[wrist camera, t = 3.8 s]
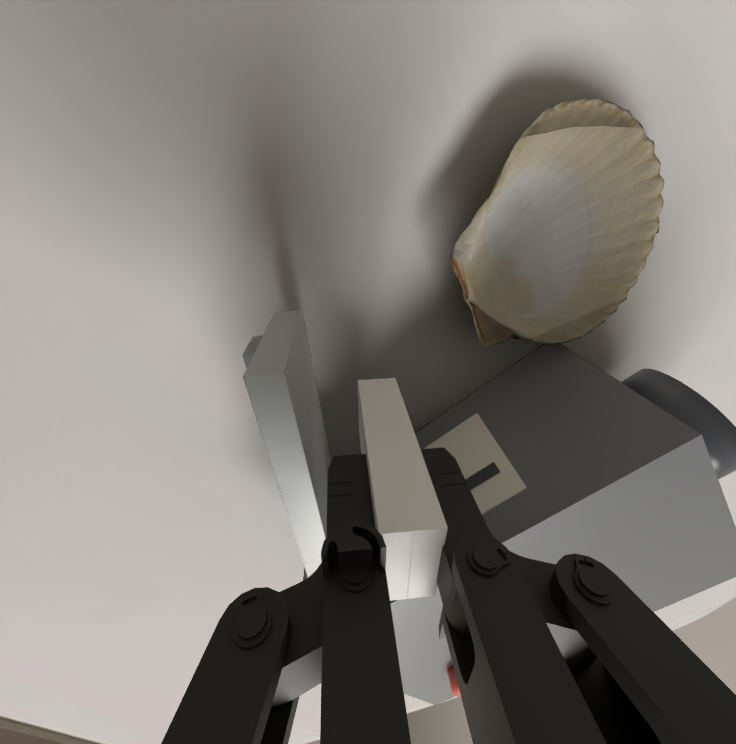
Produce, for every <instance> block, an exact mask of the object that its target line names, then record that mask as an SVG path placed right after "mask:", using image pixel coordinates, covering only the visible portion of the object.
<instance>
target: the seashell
mask: <svg viewBox="0 0 736 744" xmlns="http://www.w3.org/2000/svg"><path fill="white" fill-rule="evenodd" d="M660 164H661V163H660V161H659V160H658V158H657V157H656V155H655V154H654V141H652V140H650V139H649V138H648V137H646V135H645V131H644V129H643V127H642V125H641V124H640V123H639V122H638V120H636V119H635V118H633V116H632V115H631V114H630V112H629V110H625V109H622V108H620V107H619V106H617V105H615V104H613V103H610V102H608V101H603V100H600V99H598V98H595V99H578V100H574V101H566V102H561V103H559V104H558V105H556V106H555V107H554V108H549V109H548V110H546V111H544V112H542V113H541V114H540V115H539V117H538V118H537V119H536V120H535V121H534V122H533V123H532V125H531V126H530V127H528V128H527V129H526V130H525V131H524V132H523V134H522V135H521V136H520V138H519V139H518V141H517V142H516V144H515V145H514V147H513V149H512V151H511V153H510V155H509V156H508V158H507V160H506V162H505V164H504V166H503V168H502V170H501V172H500V174H499V176H498V178H497V180H496V182H495V185H494V187H493V189H492V192H491V194H490V196H489V197H488V199H487V200H486V201H485V202H484V203H483V205H482V206H481V207H480V209H479V210H478V211H477V213H476V214H475V215H474V217H473V219H472V221H471V222H470V224H469V226H468V227H467V228H466V229H465V230H464V231H463V232H462V234H461V235H460V237H459V238H458V240H457V241H456V242H455V246H454V249H453V251H452V254H451V265H452V267H453V270H454V272H455V274H456V276H457V277H458V279H459V281H460V283H461V286H462V294H463V297H464V300H465V302H466V303H467V304H468V305H469V308H470V309H471V311H472V315H473V318H474V324H475V329H476V332H477V335H478V339H479V342H480V344H481V345H482V346H484V347H489V346H492V345H493V344H499V343H501V342H503V341H505V340H506V339H508V338H511V337H513V338H514V339H528V340H531V341H537V342H542V343H543V344H560V343H566V342H569V341H572V340H574V339H577V338H581V337H582V336H583V335H585V334H587V333H589V332H590V331H592V330H593V329H594V328H595V327H596V326H598V325H600V324H601V323H603V322H605V320H606V319H607V317H608V316H609V315H611V314H612V313H614V312H615V311H616V310H617V307H618V305H619V304H621V303H622V302H623V301H624V300H626V298H627V294H628V291H629V289H630V288H632V287H633V286H634V285H635V283H636V282H637V277H638V274H639V272H640V271H641V270H642V269H643V268H644V266H645V263H646V257H647V256H648V254H649V253H650V252H651V250H652V248H653V241H654V240H653V239H654V236H655V234H656V233H658V231H659V217H658V215H659V213H660V211H661V209H662V206H663V199H662V196H661V194H660V193H661V191H662V189H663V186H664V180H663V178H662V177H661V176H660Z"/></svg>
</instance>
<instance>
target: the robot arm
mask: <svg viewBox="0 0 736 744" xmlns="http://www.w3.org/2000/svg"><path fill="white" fill-rule="evenodd" d="M358 412H359V439H360V447H361V454H359V455H345V456H334V458H333V460H332V462H331V464H330V466H329V467H328V476H327V535H326V539H325V540H324V542H323V546H322V550H321V560H322V562H321V564H320V565H319V567H318V568H317V570H316V571H315V572H314V573H313V574H312V575H311V576H310V577H308V578H307V579H305V580H303V581H302V582H300V583H298V584H296V585H294V586H292V587H290V588H287V589H285V590H283V591H281V592H277V591H275V590H272V589H270V588H267V587H266V588H254V589H252V590H250V591H247V592H245V593H243V594H241V595H240V596H239V597H238V598H237V599H235V600H234V601H233V602H232V603H231V604H230V605H229V606H228V608H227V609H226V611H225V612H224V614H223V615H222V617H221V618H220V620H219V622H218V625H217V627H216V629H215V631H214V633H213V635H212V637H211V639H210V642H209V644H208V646H207V648H206V650H205V652H204V654H203V656H202V658H201V661H200V663H199V665H198V667H197V669H196V671H195V673H194V675H193V678H192V680H191V682H190V684H189V686H188V688H187V690H186V692H185V695H184V697H183V699H182V701H181V703H180V705H179V707H178V709H177V712H176V714H175V716H174V718H173V720H172V722H171V724H170V726H169V729H168V731H167V733H166V735H165V737H164V739H163V741H162V743H161V744H288V741H289V737H290V733H291V729H292V725H293V720H294V716H295V712H296V708H297V704H298V700H299V696H300V695H302V694H303V693H305V692H307V691H308V690H310V689H312V688H313V687H315V686H317V685H318V684H320V683H322V687H321V737H320V744H411V741H410V734H409V728H408V721H407V714H406V707H405V700H404V693H403V686H402V679H401V673H400V666H399V659H398V652H397V645H396V638H395V631H394V624H393V618H392V611H391V604H390V601H393V600H402V599H411V598H420V597H429V596H436V591H437V585H438V588H439V592H440V596H441V600H442V603H443V607H442V612H441V617H440V622H439V627H438V629H439V639H442V638H444V634H445V635H446V639H447V643H448V647H449V651H450V655H451V659H452V663H453V667H454V670H455V674H456V678H457V682H458V686H459V690H460V694H461V698H462V702H463V705H464V709H465V713H466V717H467V721H468V725H469V729H470V733H471V737H472V741H473V744H736V695H735V694H734V693H733V692H732V691H731V690H730V689H729V688H728V687H727V686H726V685H725V684H724V683H723V682H722V681H721V680H720V679H719V678H718V677H717V676H716V675H715V674H714V673H713V672H712V671H711V670H710V669H709V668H708V667H707V666H706V665H705V664H704V663H703V662H702V661H701V660H700V659H699V658H698V657H697V656H696V655H695V654H694V653H693V652H692V651H691V650H690V649H689V648H688V647H687V646H686V645H685V644H684V643H683V642H682V641H681V639H680V638H679V637H677V635H676V634H675V633H673V631H672V630H671V629H670V628H669V627H668V626H667V625H666V624H665V623H664V622H663V621H662V620H661V619H660V618H659V617H658V616H657V615H656V614H655V613H654V612H653V611H652V610H651V609H650V608H649V607H648V606H647V605H646V604H645V603H644V602H643V601H642V600H641V599H640V598H639V597H638V596H637V595H636V594H635V593H634V592H633V591H632V590H631V589H630V588H629V587H628V586H627V585H626V584H625V583H624V582H623V581H622V580H621V579H620V578H619V577H618V576H617V575H616V574H615V573H614V572H612V571H611V570H610V569H609V568H608V567H606V566H605V565H604V564H603V563H601V562H599V561H597V560H595V559H593V558H591V557H589V556H585V555H580V554H576V553H575V554H569V555H564V556H563V557H562V558H561V559H560V560H559V561H558V562H557V564H551V563H547V562H543V561H538V560H534V559H529V558H525V557H522V556H519V555H517V554H515V553H513V552H511V551H509V550H508V549H507V548H506V546H504V545H503V544H502V543H501V542H499V541H498V540H497V539H496V538H494V537H493V535H492V534H491V532H490V530H489V529H488V527H487V524H486V522H485V520H484V518H483V516H482V514H481V512H480V510H479V507H478V505H477V503H476V501H475V499H474V497H473V495H472V493H471V490H470V488H469V486H467V482H466V480H465V478H464V476H463V474H462V471H461V469H460V467H459V465H458V463H457V461H456V459H455V457H453V456H452V455H451V454H450V453H449V452H448V451H447V450H446V449H445V448H444V447H442V448H428V449H420V447H419V444H418V441H417V438H416V435H415V432H414V430H413V427H412V424H411V421H410V418H409V415H408V412H407V409H406V407H405V404H404V401H403V398H402V395H401V392H400V389H399V387H398V384H397V381H396V378H385V379H366V380H358Z"/></svg>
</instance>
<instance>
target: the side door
mask: <svg viewBox="0 0 736 744" xmlns="http://www.w3.org/2000/svg"><path fill="white" fill-rule="evenodd" d="M243 357H244V361H245V364H246V367H247V369H246V371H245V373H244V375H243V379H244V382H245V385H246V388H247V391H248V394H249V397H250V400H251V403H252V406H253V409H254V413H255V416H256V419H257V422H258V425H259V428H260V431H261V434H262V437H263V440H264V443H265V446H266V450H267V453H268V456H269V459H270V462H271V465H272V468H273V471H274V474H275V477H276V480H277V483H278V487H279V490H280V493H281V496H282V499H283V502H284V505H285V508H286V511H287V514H288V517H289V520H290V524H291V527H292V530H293V533H294V536H295V539H296V542H297V545H298V548H299V551H300V554H301V557H302V560H303V564H304V567H305V570H306V573H307V576H308V577H310V576H311V575H312V574H313V573H314V572H315V571H316V570H317V568H318V567H319V565H320V564H321V562H322V560H321V550H322V546H323V542H324V540H325V539H326V535H327V476H328V467H329V466H330V464H331V457H330V452H329V447H328V442H327V437H326V432H325V427H324V421H323V416H322V411H321V406H320V401H319V396H318V391H317V386H316V381H315V376H314V371H313V366H312V361H311V356H310V351H309V346H308V341H307V336H306V331H305V326H304V321H303V316H302V310H301V309H300V310H291V311H283V312H275V314H274V315H273V317H272V319H271V321H270V323H269V325H268V327H267V329H266V331H265V333H264V335H263V336H256V337H253V338H252V339H251V341H250V343H249V345H248V346H247V348H246V350H245V352H244V353H243Z"/></svg>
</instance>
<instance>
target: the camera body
mask: <svg viewBox="0 0 736 744" xmlns="http://www.w3.org/2000/svg"><path fill="white" fill-rule="evenodd" d="M415 435H416V438H417V441H418V444H419V447H420V449H428V448H442V447H444V448H445V449H446V450H447V451H448V452H449V453H450V454H451V455H452V456H453V457H455V459H456V461H457V463H458V465H459V467H460V469H461V471H462V474H463V476H464V478H465V480H466V482H467V486H469V488H470V490H471V493H472V495H473V497H474V499H475V501H476V503H477V505H478V507H479V510H480V512H481V514H482V516H483V518H484V520H485V522H486V524H487V527H488V529H489V530H490V532H491V534H492V535H493V537H494V538H496V539H497V540H498V541H499V542H501V543H502V544H503V545H504V546H506V548H507V549H508V550H509V551H511V552H513V553H515V554H517V555H519V556H522V557H525V558H529V559H534V560H538V561H543V562H547V563H551V564H557V562H558V561H559V560H560V559H561V558H562V557H563V556H564V555H569V554H575V553H576V554H580V555H585V556H589V557H591V558H593V559H595V560H597V561H599V562H601V563H603V564H604V565H605V566H606V567H608V568H609V569H610V570H611V571H612V572H614V573H615V574H616V575H617V576H618V577H619V578H620V579H621V580H622V581H623V582H624V583H625V584H626V585H627V586H628V587H629V588H630V589H631V590H632V591H633V592H634V593H635V594H636V595H637V596H638V597H639V598H640V599H641V600H642V601H643V602H644V603H645V604H646V605H647V606H648V607H649V608H650V609H651V610H652V611H653V612H654V611H657V610H659V609H661V608H664V607H666V606H669V605H671V604H673V603H676V602H678V601H680V600H683V599H685V598H687V597H690V596H692V595H694V594H697V593H699V592H701V591H704V590H706V589H708V588H711V587H713V586H715V585H718V584H720V583H722V582H725V581H727V580H730V579H732V578H734V577H736V527H735V525H734V522H733V519H732V516H731V514H730V511H729V508H728V505H727V503H726V500H725V497H724V494H723V492H722V489H721V486H720V483H719V481H718V479H720V478H722V477H724V476H726V475H728V474H730V473H732V472H734V471H736V427H735V426H734V425H733V424H732V423H731V422H730V421H729V420H728V419H727V418H726V417H725V416H724V415H723V414H722V413H721V412H720V411H719V410H718V409H717V408H716V407H715V406H713V405H712V404H711V403H710V402H709V401H707V400H706V399H705V398H703V397H702V396H701V395H700V394H698V393H697V392H695V391H694V390H692V389H691V388H690V387H688V386H686V385H685V384H683V383H682V382H680V381H678V380H676V379H675V378H673V377H671V376H669V375H667V374H664V373H662V372H659V371H656V370H652V369H642V370H640V371H638V372H637V373H635V374H633V375H632V376H630V377H629V378H627V379H625V380H624V381H622V382H619V381H618V380H616V379H615V378H613V377H612V376H610V375H608V374H607V373H605V372H604V371H602V370H601V369H599V368H598V367H596V366H595V365H593V364H591V363H590V362H588V361H587V360H585V359H584V358H582V357H581V356H579V355H577V354H576V353H574V352H573V351H571V350H570V349H568V348H567V347H565V346H563V345H562V344H543V345H541V346H540V347H539V348H537V349H536V350H534V351H533V352H531V353H530V354H528V355H527V356H526V357H524V358H523V359H521V360H520V361H518V362H517V363H516V364H514V365H513V366H511V367H510V368H508V369H507V370H505V371H504V372H503V373H501V374H500V375H498V376H497V377H495V378H494V379H493V380H491V381H490V382H488V383H487V384H485V385H484V386H482V387H481V388H480V389H478V390H477V391H475V392H474V393H472V394H471V395H470V396H468V397H467V398H465V399H464V400H462V401H461V402H459V403H458V404H457V405H455V406H454V407H452V408H451V409H449V410H448V411H447V412H445V413H444V414H442V415H441V416H439V417H438V418H436V419H435V420H434V421H432V422H431V423H429V424H428V425H426V426H425V427H424V428H422V429H421V430H419V431H418V432H416V433H415ZM307 578H308V576H307V573H306V570H305V567H304V578H303V580H305V579H307ZM390 604H391V611H392V618H393V624H394V631H395V638H396V645H397V652H398V659H399V666H400V673H401V679H402V686H403V693H404V694H407V695H409V696H412V697H415V698H418V699H420V700H423V701H426V702H429V703H431V704H434V705H436V704H439V703H441V702H443V701H446V700H448V699H450V698H453V697H455V696H460V697H461V694H460V690H459V686H458V682H457V678H456V674H455V670H454V667H453V663H452V659H451V655H450V651H449V647H448V643H447V639H446V635H445V634H444V638H442V639H439V629H438V627H439V622H440V617H441V612H442V607H443V603H442V600H441V596H440V592H439V588H438V585H437V591H436V596H429V597H420V598H411V599H402V600H393V601H390Z"/></svg>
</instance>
